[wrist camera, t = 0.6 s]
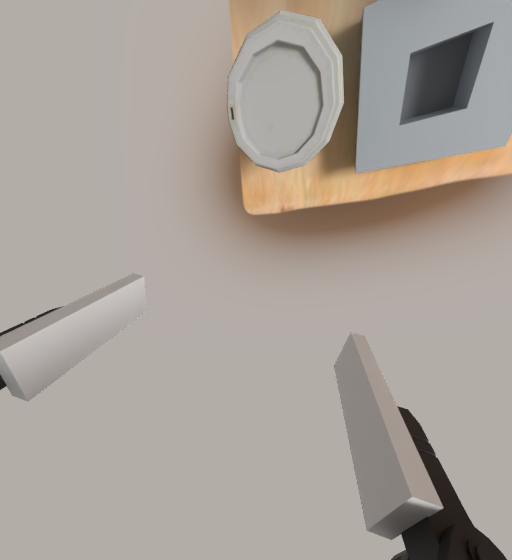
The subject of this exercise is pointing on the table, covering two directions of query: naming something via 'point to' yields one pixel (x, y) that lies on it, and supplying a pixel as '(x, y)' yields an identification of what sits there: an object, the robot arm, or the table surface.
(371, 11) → the bore block
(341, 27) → the table surface
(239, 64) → the disposable coffee cup
